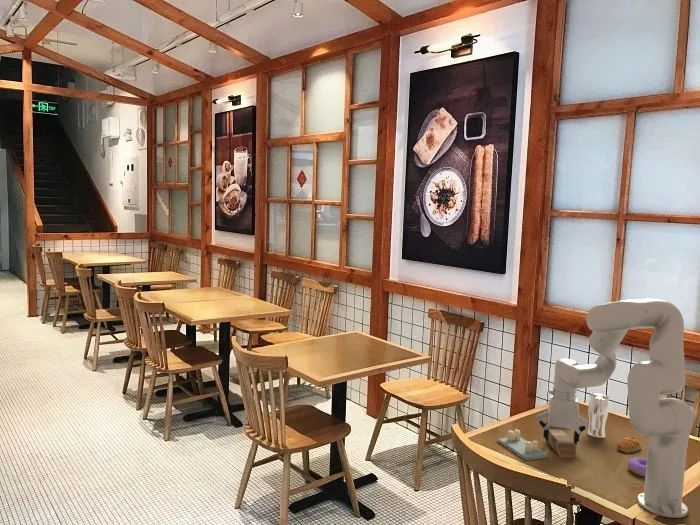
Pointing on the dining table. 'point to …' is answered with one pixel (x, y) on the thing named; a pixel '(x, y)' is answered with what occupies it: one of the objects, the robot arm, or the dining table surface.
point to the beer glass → (598, 414)
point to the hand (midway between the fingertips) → (560, 441)
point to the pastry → (628, 444)
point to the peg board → (522, 446)
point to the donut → (638, 466)
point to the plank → (562, 444)
